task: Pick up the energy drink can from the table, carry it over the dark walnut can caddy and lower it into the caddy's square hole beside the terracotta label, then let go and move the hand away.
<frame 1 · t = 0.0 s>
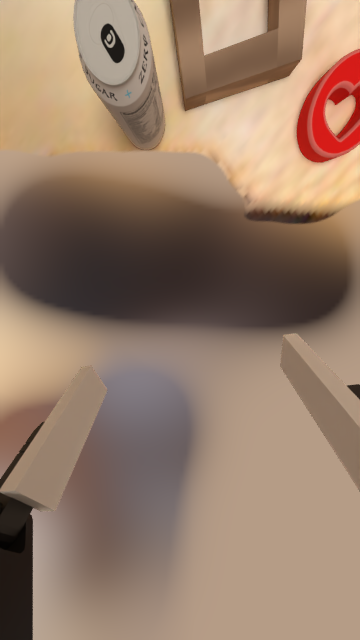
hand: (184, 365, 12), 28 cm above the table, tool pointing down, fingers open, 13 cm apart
energy drink can: (145, 124, 26), on the table
decorative ornament: (330, 119, 25), on the table
can caddy: (231, 5, 21), on the table
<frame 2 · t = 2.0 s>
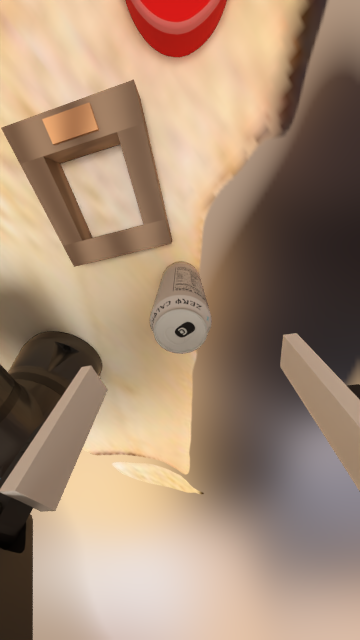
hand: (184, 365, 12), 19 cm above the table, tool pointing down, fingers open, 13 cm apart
energy drink can: (180, 279, 29), on the table
can caddy: (107, 195, 23), on the table
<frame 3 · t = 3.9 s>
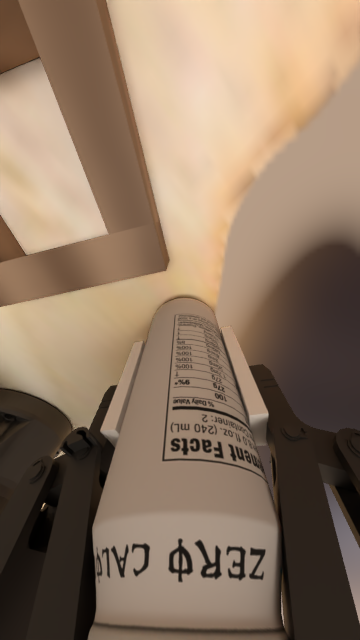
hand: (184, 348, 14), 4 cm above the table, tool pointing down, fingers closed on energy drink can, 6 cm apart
energy drink can: (184, 321, 17), on the table, touching gripper
can caddy: (39, 175, 11), on the table
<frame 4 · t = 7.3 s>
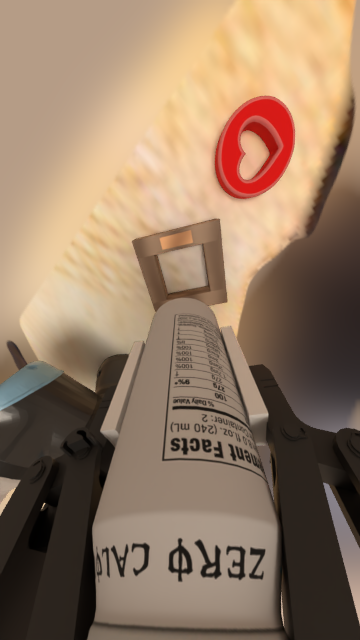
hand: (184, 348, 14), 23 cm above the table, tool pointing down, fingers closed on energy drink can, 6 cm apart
energy drink can: (184, 320, 17), point 19 cm above the table, touching gripper
decorative ornament: (248, 158, 25), on the table
can caddy: (183, 269, 33), on the table
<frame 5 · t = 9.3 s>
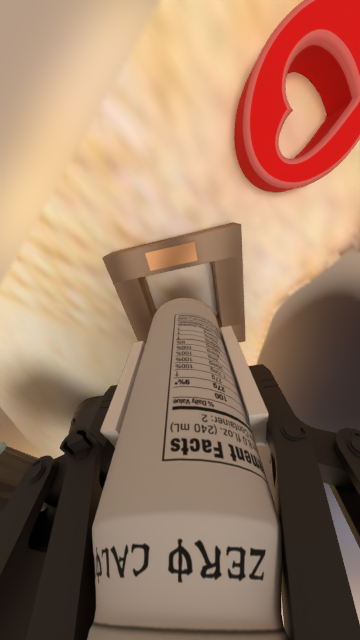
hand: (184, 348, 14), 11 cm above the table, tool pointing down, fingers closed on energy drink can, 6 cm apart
energy drink can: (184, 320, 17), point 7 cm above the table, touching gripper
decorative ornament: (289, 125, 15), on the table
can caddy: (183, 294, 23), on the table
when the fingers open (5 cm above the table, at t = 10.8 s): energy drink can drops 1 cm, resting in can caddy.
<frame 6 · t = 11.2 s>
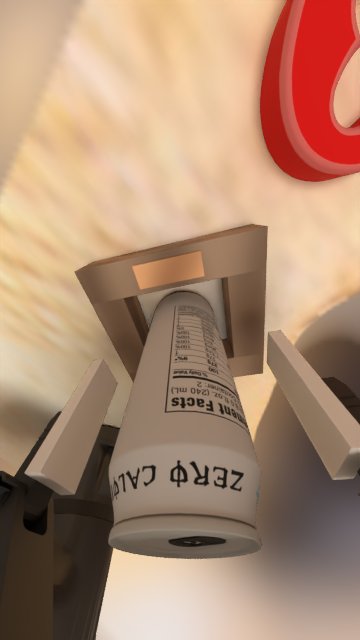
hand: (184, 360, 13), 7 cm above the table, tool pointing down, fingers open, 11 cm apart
energy drink can: (183, 314, 19), resting in can caddy
decorative ornament: (341, 80, 10), on the table
can caddy: (184, 314, 18), on the table
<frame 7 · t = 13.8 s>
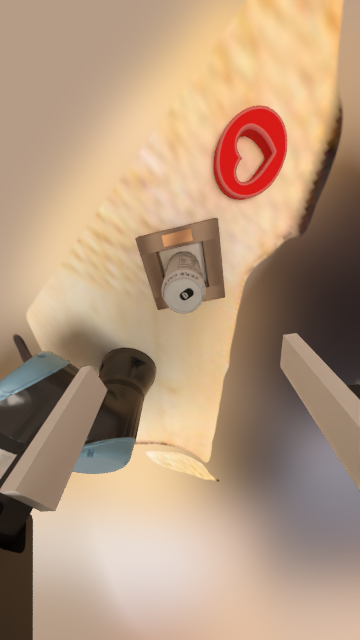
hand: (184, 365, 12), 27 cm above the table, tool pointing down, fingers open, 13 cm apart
energy drink can: (183, 266, 35), resting in can caddy
decorative ornament: (244, 162, 27), on the table
can caddy: (183, 266, 35), on the table
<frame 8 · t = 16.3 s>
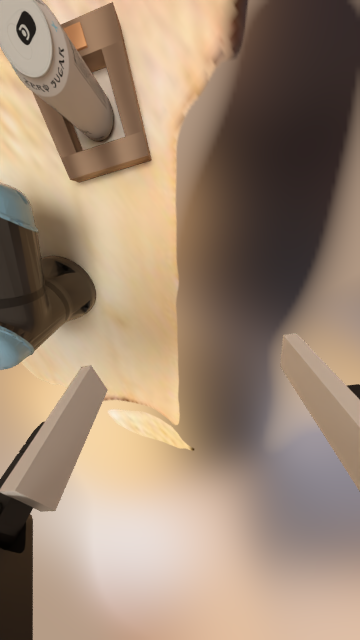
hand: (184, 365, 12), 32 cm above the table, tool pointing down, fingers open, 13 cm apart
energy drink can: (96, 117, 28), resting in can caddy
can caddy: (96, 116, 28), on the table
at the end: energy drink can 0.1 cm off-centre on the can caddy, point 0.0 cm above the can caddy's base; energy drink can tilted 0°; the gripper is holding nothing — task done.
